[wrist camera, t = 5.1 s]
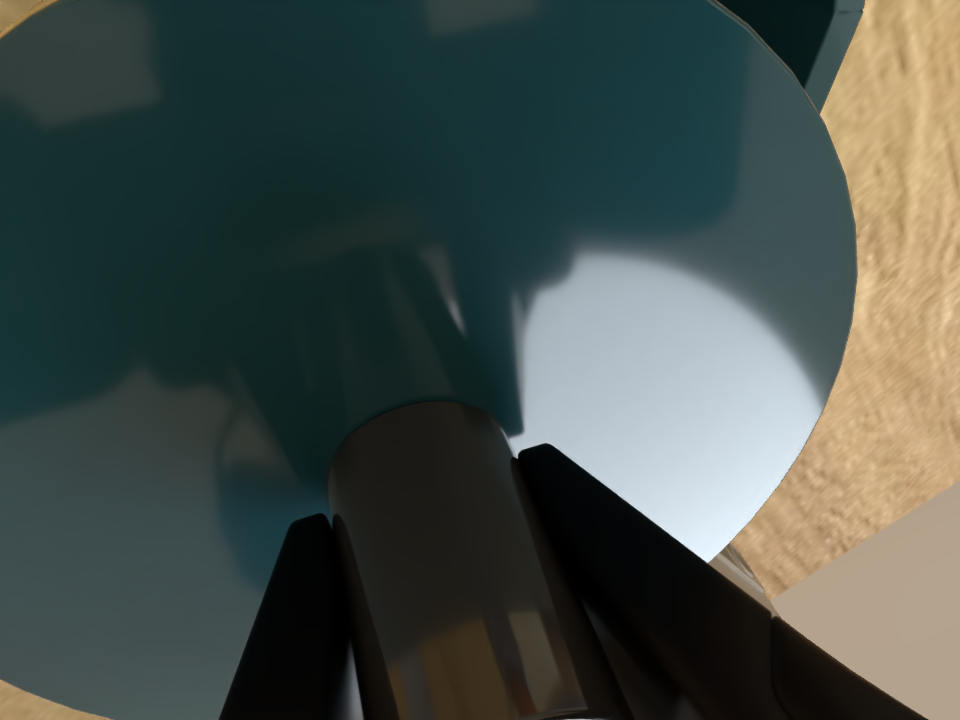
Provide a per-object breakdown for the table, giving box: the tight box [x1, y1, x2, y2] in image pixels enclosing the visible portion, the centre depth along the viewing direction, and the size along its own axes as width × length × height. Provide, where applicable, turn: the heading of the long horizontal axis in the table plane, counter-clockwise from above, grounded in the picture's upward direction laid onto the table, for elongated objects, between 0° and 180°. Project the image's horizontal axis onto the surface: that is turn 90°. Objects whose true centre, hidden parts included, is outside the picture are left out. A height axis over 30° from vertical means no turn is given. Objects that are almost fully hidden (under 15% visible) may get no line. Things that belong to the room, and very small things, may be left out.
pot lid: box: [0, 0, 858, 720], centre depth 8 cm, size 12×12×5 cm
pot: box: [717, 0, 865, 114], centre depth 16 cm, size 11×11×6 cm
